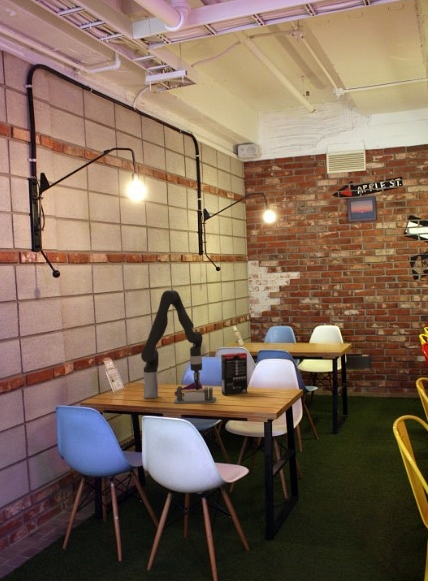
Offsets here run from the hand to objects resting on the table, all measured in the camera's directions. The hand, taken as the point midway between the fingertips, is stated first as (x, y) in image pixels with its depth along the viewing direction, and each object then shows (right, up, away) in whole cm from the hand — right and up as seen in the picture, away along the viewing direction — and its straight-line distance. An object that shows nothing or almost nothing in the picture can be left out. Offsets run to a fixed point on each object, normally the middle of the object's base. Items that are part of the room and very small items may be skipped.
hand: (197, 389), depth 370 cm
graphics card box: (+25, -6, +19) cm, 32 cm away
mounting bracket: (-7, -8, +20) cm, 23 cm away
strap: (-3, -1, 0) cm, 3 cm away
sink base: (-2, -8, +1) cm, 8 cm away
